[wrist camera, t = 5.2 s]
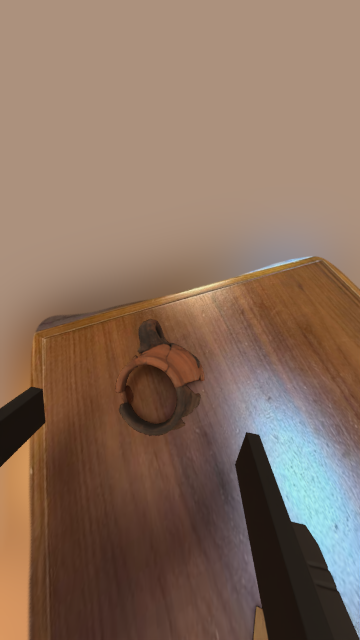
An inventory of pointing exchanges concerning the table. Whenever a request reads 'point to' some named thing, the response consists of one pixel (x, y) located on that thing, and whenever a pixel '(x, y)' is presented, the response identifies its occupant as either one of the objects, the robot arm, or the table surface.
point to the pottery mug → (174, 364)
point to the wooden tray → (260, 626)
